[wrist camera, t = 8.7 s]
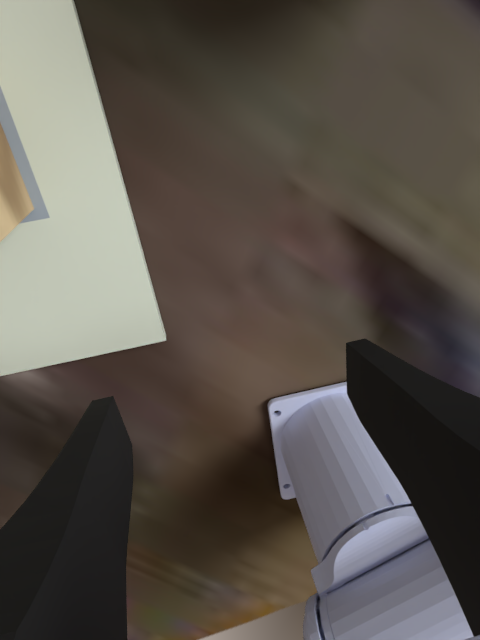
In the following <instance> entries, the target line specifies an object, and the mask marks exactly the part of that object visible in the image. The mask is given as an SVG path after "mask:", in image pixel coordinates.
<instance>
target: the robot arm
mask: <svg viewBox="0 0 480 640" xmlns="http://www.w3.org/2000/svg"><path fill="white" fill-rule="evenodd" d="M346 368H347V382H343V383H338V384H334V385H330V386H325V387H321V388H317V389H312V390H308V391H304V392H299V393H295V394H291V395H286V396H282V397H278V398H274V399H271V400H270V401H269V402H268V413H269V420H270V426H271V433H272V440H273V447H274V454H275V460H276V467H277V474H278V481H279V488H280V494H281V497H282V498H283V499H286V500H287V499H292V498H296V499H297V502H298V505H299V508H300V511H301V514H302V516H303V519H304V522H305V525H306V528H307V531H308V534H309V537H310V540H311V543H312V546H313V549H314V552H315V555H316V558H317V561H318V564H319V565H317V566H316V567H314V568H313V569H312V570H311V573H312V577H313V580H314V583H315V586H316V589H317V592H318V593H316V594H314V595H312V596H310V597H309V598H308V600H307V602H306V606H305V616H304V621H303V638H304V640H480V398H479V397H477V396H474V395H472V394H469V393H467V392H464V391H462V390H460V389H458V388H455V387H453V386H451V385H449V384H447V383H445V382H443V381H441V380H439V379H437V378H435V377H433V376H431V375H429V374H427V373H425V372H423V371H421V370H419V369H417V368H416V367H414V366H412V365H410V364H408V363H407V362H405V361H403V360H401V359H400V358H398V357H396V356H394V355H393V354H391V353H389V352H388V351H386V350H384V349H382V348H381V347H379V346H377V345H376V344H374V343H372V342H370V341H368V340H367V339H361V340H357V341H352V342H348V343H346ZM275 411H278V412H277V413H274V412H275ZM132 487H133V454H132V443H131V441H130V438H129V436H128V433H127V430H126V428H125V425H124V423H123V420H122V418H121V415H120V413H119V410H118V407H117V405H116V402H115V400H114V397H113V396H111V397H107V398H103V399H98V400H94V401H92V402H91V404H90V405H89V407H88V408H87V410H86V412H85V413H84V415H83V417H82V418H81V420H80V422H79V423H78V425H77V426H76V428H75V430H74V431H73V433H72V435H71V436H70V438H69V439H68V441H67V443H66V444H65V446H64V447H63V449H62V450H61V452H60V453H59V455H58V457H57V458H56V460H55V461H54V463H53V464H52V465H51V467H50V468H49V470H48V471H47V472H46V474H45V475H44V477H43V478H42V479H41V481H40V482H39V484H38V485H37V486H36V488H35V489H34V490H33V492H32V493H31V494H30V496H29V497H28V498H27V499H26V501H25V502H24V503H23V504H22V505H21V507H20V508H19V509H18V510H17V511H16V512H15V514H14V515H13V516H12V517H11V518H10V519H9V521H8V522H7V523H6V524H5V525H4V526H3V527H2V528H1V529H0V640H127V609H126V557H127V543H128V532H129V521H130V510H131V499H132Z"/></svg>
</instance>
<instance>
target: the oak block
mask: <svg viewBox="0 0 480 640" xmlns="http://www.w3.org/2000/svg"><path fill="white" fill-rule="evenodd" d="M33 209H34V207H33V204H32V202H31V199H30V197H29V194H28V191H27V189H26V186H25V184H24V181H23V179H22V176H21V174H20V171H19V169H18V166H17V163H16V161H15V158H14V156H13V153H12V151H11V148H10V146H9V143H8V141H7V138H6V135H5V133H4V130H3V128H2V125H1V123H0V242H1V241H2V240H3V239H4V238H5V237H6V236H7V235H8V234H9V233H10V232H11V231H12V230H13V229H14V228H15V227H16V226H17V225H18V224H19V223H20V222H21V221H22V220H23V219H24V218H25V217H26V216H27V215H28V214H29V213H30V212H31V211H32V210H33Z"/></svg>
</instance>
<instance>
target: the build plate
mask: <svg viewBox="0 0 480 640" xmlns="http://www.w3.org/2000/svg"><path fill="white" fill-rule="evenodd" d="M0 123H1V125H2V128H3V130H4V133H5V135H6V138H7V141H8V143H9V146H10V148H11V151H12V153H13V156H14V158H15V161H16V163H17V166H18V169H19V171H20V174H21V176H22V179H23V181H24V184H25V186H26V189H27V191H28V194H29V197H30V199H31V202H32V204H33V207H34V209H33V210H32V211H31V212H30V213H29V214H28V215H27V216H26V217H25V218H24V219H23V220H22V221H21V222H20V223H19V224H18V225H17V226H16V227H15V228H14V229H13V230H12V231H11V232H10V233H9V234H8V235H7V236H6V237H5V238H4V239H3V240H2V241H1V242H0V376H4V375H8V374H13V373H18V372H22V371H27V370H32V369H36V368H41V367H46V366H50V365H55V364H60V363H64V362H69V361H73V360H78V359H83V358H87V357H92V356H97V355H101V354H106V353H111V352H115V351H120V350H125V349H129V348H134V347H139V346H143V345H148V344H153V343H157V342H162V341H166V333H165V330H164V326H163V322H162V319H161V315H160V311H159V308H158V304H157V301H156V297H155V293H154V290H153V286H152V282H151V279H150V275H149V272H148V268H147V264H146V261H145V257H144V253H143V250H142V246H141V242H140V239H139V235H138V232H137V228H136V224H135V221H134V217H133V213H132V210H131V206H130V203H129V199H128V195H127V192H126V188H125V184H124V181H123V177H122V174H121V170H120V166H119V163H118V159H117V155H116V152H115V148H114V145H113V141H112V137H111V134H110V130H109V126H108V123H107V119H106V115H105V112H104V108H103V105H102V101H101V97H100V94H99V90H98V86H97V83H96V79H95V76H94V72H93V68H92V65H91V61H90V57H89V54H88V50H87V47H86V43H85V39H84V36H83V32H82V28H81V25H80V21H79V17H78V14H77V10H76V7H75V3H74V0H0Z"/></svg>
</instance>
